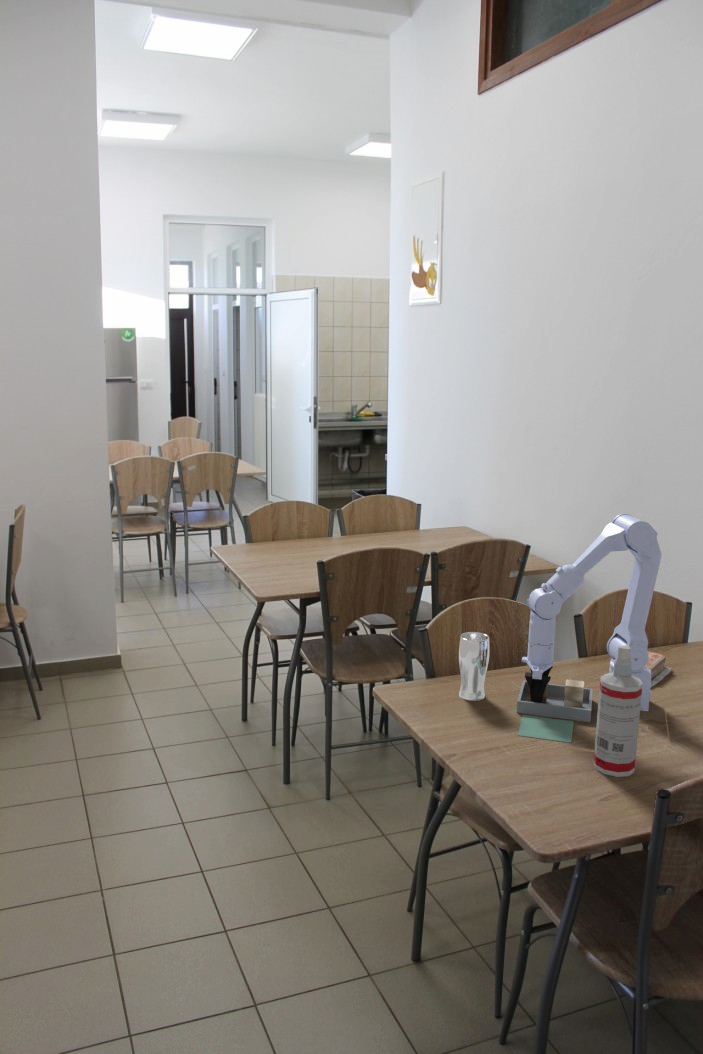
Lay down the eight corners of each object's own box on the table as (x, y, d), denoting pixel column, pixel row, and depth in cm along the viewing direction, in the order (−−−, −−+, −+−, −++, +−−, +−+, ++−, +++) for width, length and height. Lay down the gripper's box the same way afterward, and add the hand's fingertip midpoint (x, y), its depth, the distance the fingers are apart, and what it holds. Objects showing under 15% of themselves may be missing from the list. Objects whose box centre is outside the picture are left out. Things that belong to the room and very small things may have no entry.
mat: (573, 723, 194) (573, 721, 194) (571, 745, 184) (571, 742, 184) (522, 717, 197) (522, 714, 197) (517, 737, 187) (517, 735, 187)
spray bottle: (622, 780, 169) (633, 656, 164) (586, 767, 174) (596, 646, 169) (640, 767, 175) (652, 646, 170) (605, 754, 180) (615, 637, 175)
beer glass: (491, 701, 205) (495, 640, 202) (464, 704, 203) (467, 642, 200) (479, 690, 212) (482, 630, 209) (452, 693, 210) (455, 632, 207)
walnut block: (546, 701, 205) (548, 676, 203) (545, 708, 201) (547, 682, 200) (529, 699, 206) (530, 674, 205) (527, 706, 202) (529, 680, 201)
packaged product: (635, 646, 232) (674, 654, 227) (634, 663, 233) (672, 672, 228) (609, 664, 218) (649, 674, 212) (608, 683, 219) (648, 693, 213)
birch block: (582, 706, 203) (584, 681, 201) (581, 712, 199) (583, 687, 198) (564, 703, 204) (566, 679, 202) (563, 710, 200) (565, 685, 199)
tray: (591, 702, 206) (592, 689, 206) (590, 724, 194) (591, 710, 193) (522, 693, 211) (522, 680, 210) (516, 714, 198) (517, 701, 198)
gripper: (526, 630, 208) (522, 684, 211) (520, 649, 195) (516, 707, 197) (557, 633, 206) (553, 688, 209) (552, 653, 193) (548, 712, 195)
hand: (537, 698), depth 203 cm, fingers open, 6 cm apart
